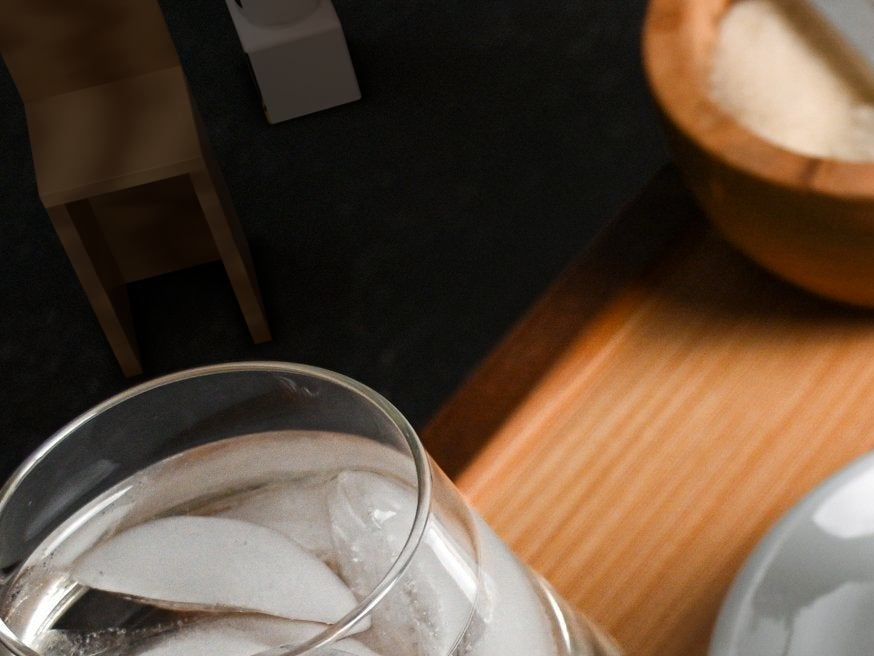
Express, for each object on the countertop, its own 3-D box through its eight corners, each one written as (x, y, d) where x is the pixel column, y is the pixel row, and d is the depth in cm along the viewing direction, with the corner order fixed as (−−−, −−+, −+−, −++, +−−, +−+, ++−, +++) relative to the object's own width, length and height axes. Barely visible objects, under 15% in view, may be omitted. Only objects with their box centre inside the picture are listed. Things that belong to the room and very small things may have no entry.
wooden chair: (128, 385, 130) (-60, -10, 105) (110, 287, 135) (-73, -112, 110) (274, 347, 131) (123, -52, 106) (251, 252, 137) (101, -151, 111)
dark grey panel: (251, 76, 147) (202, -68, 137) (341, 50, 148) (299, -94, 138) (271, 132, 144) (223, -11, 133) (364, 105, 145) (323, -39, 134)
